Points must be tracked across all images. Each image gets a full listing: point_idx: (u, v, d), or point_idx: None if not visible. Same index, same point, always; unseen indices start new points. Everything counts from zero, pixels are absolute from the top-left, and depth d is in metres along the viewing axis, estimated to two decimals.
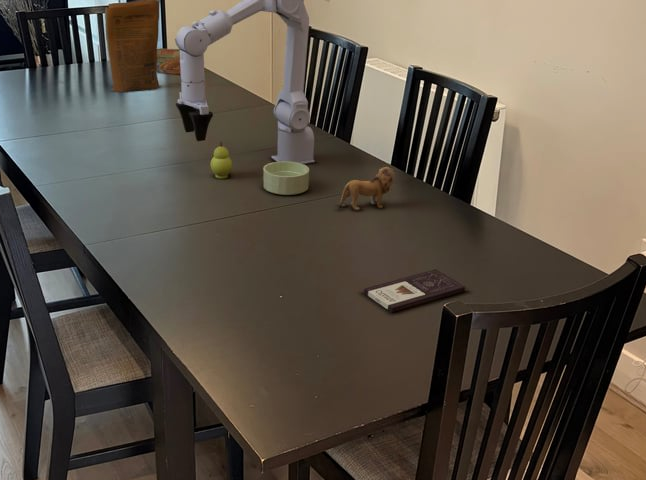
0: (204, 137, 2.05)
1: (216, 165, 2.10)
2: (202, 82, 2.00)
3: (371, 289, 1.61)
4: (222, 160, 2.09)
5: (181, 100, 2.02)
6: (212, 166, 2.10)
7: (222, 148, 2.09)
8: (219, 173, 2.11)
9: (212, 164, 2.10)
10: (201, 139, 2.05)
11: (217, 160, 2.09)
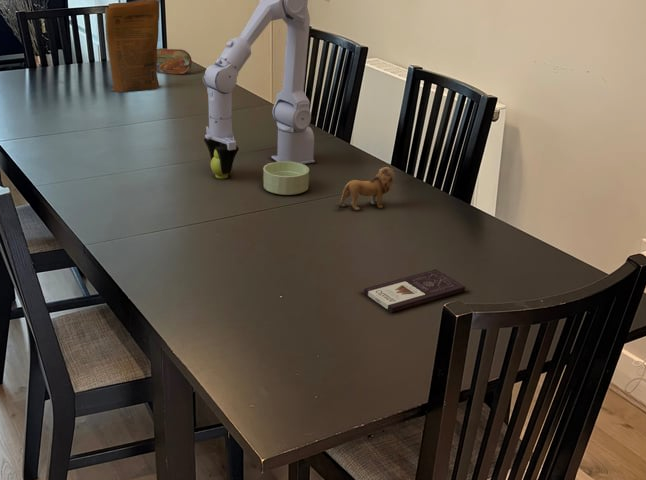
0: (229, 170, 2.10)
1: (216, 165, 2.10)
2: (229, 118, 2.04)
3: (371, 289, 1.61)
4: None
5: (209, 135, 2.06)
6: (212, 166, 2.10)
7: None
8: (219, 173, 2.11)
9: (212, 164, 2.10)
10: (226, 172, 2.10)
11: (217, 160, 2.09)
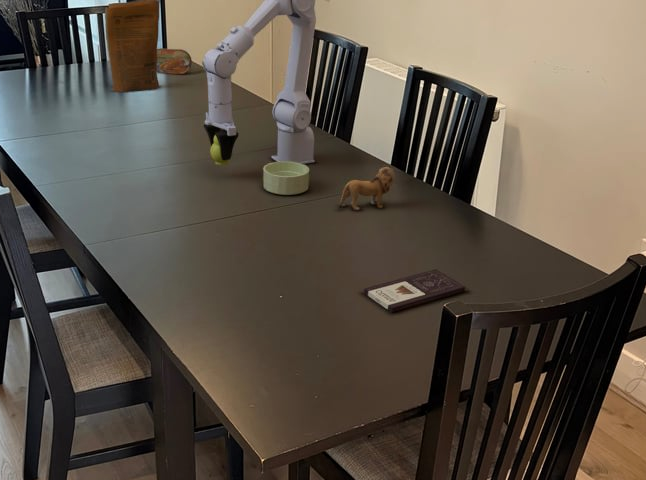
0: (229, 156, 2.08)
1: (216, 151, 2.08)
2: (229, 103, 2.02)
3: (371, 289, 1.61)
4: None
5: (208, 121, 2.04)
6: (212, 152, 2.08)
7: None
8: (219, 159, 2.09)
9: (212, 150, 2.08)
10: (226, 158, 2.08)
11: (217, 146, 2.07)
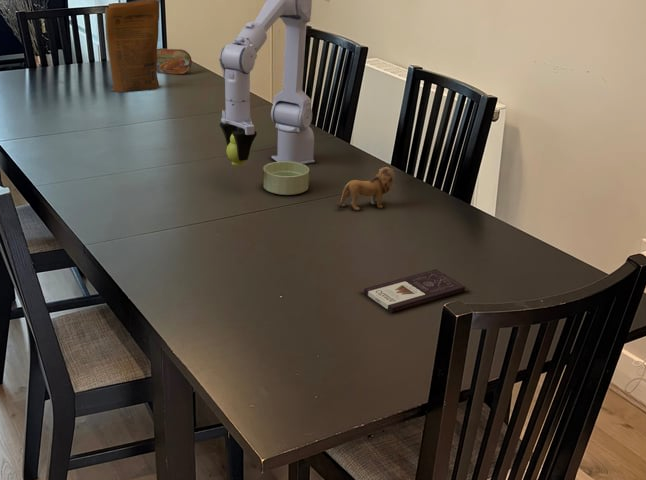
0: (247, 156, 1.99)
1: (232, 151, 1.98)
2: (247, 101, 1.93)
3: (371, 289, 1.61)
4: None
5: (225, 119, 1.94)
6: (228, 152, 1.99)
7: None
8: (236, 160, 1.99)
9: (228, 150, 1.99)
10: (244, 158, 1.98)
11: (234, 146, 1.98)
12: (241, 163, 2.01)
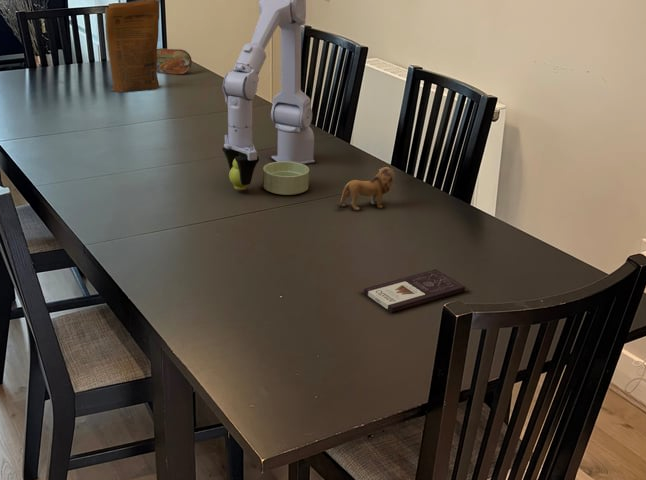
0: (249, 181, 2.01)
1: (235, 176, 2.00)
2: (250, 127, 1.95)
3: (371, 289, 1.61)
4: None
5: (228, 145, 1.97)
6: (231, 177, 2.01)
7: None
8: (238, 184, 2.01)
9: (231, 175, 2.01)
10: (246, 183, 2.01)
11: (236, 170, 2.00)
12: (244, 187, 2.03)
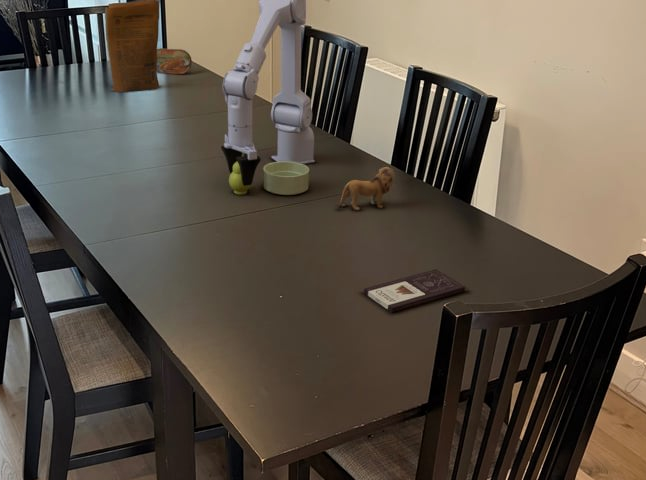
0: (251, 181, 2.00)
1: (235, 181, 2.01)
2: (250, 126, 1.95)
3: (371, 289, 1.61)
4: None
5: (228, 144, 1.97)
6: (231, 182, 2.02)
7: None
8: (238, 189, 2.02)
9: (231, 179, 2.01)
10: (248, 183, 2.00)
11: (236, 175, 2.01)
12: (243, 192, 2.03)
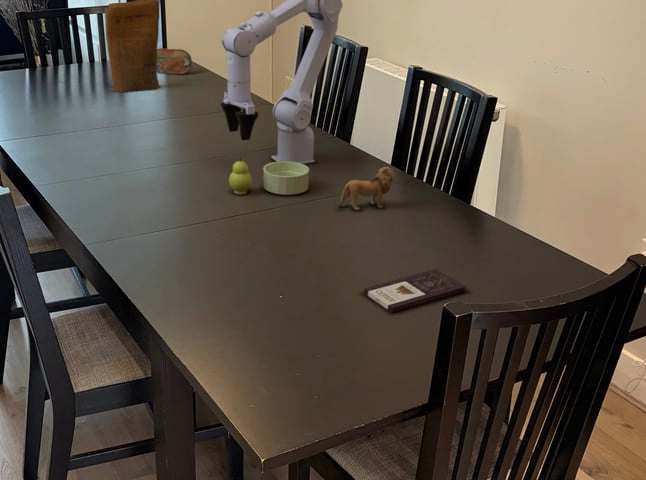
0: (249, 136, 2.09)
1: (235, 181, 2.01)
2: (248, 82, 2.04)
3: (371, 289, 1.61)
4: (241, 175, 2.00)
5: (227, 100, 2.06)
6: (231, 182, 2.02)
7: (241, 163, 2.00)
8: (238, 189, 2.02)
9: (231, 179, 2.01)
10: (246, 138, 2.09)
11: (236, 175, 2.01)
12: (243, 192, 2.03)
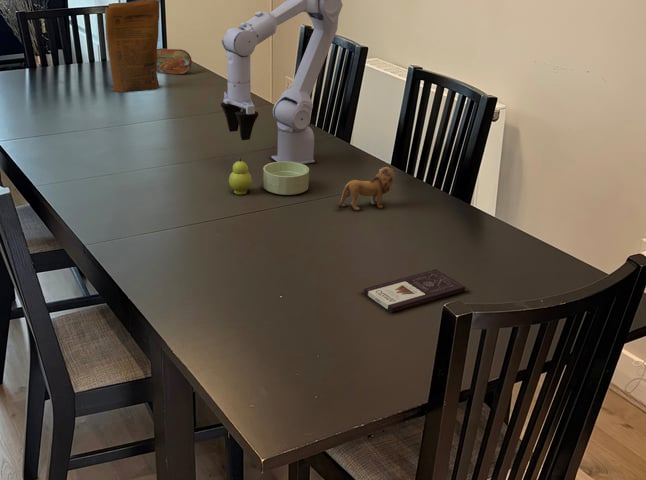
0: (249, 136, 2.09)
1: (235, 181, 2.01)
2: (248, 82, 2.04)
3: (371, 289, 1.61)
4: (241, 175, 2.00)
5: (227, 100, 2.06)
6: (231, 182, 2.02)
7: (241, 163, 2.00)
8: (238, 189, 2.02)
9: (231, 179, 2.01)
10: (246, 138, 2.09)
11: (236, 175, 2.01)
12: (243, 192, 2.03)
